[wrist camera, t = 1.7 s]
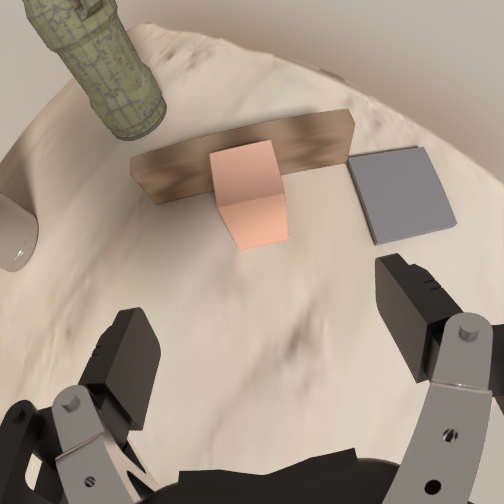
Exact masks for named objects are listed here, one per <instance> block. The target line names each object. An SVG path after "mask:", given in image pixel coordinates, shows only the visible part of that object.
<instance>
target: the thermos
mask: <svg viewBox="0 0 504 504" xmlns="http://www.w3.org/2000/svg"><path fill="white" fill-rule="evenodd" d="M22 1H23V2H24V6H25V11H26V16H27V19H28V20H29V22H30V23H31V24H32V26H33V27H34V29H35V30H36V31H37V33H38V35H39V36H40V37H41V39H42V40H43V41H44V43H45V44H46V46H47V47H48V48H49V49H50V50H51V51H54V52H56V53H57V54H58V55H59V56H60V58H61V59H62V61H63V62H64V63H65V65H66V66H67V67H68V69H69V70H70V72H71V73H72V74H73V76H74V77H75V79H76V80H77V81H78V83H79V84H80V85H81V87H82V88H83V90H84V91H85V92H86V94H87V95H88V96H89V100H90V104H91V107H92V109H93V110H94V111H95V113H96V114H97V115H98V117H99V118H100V119H101V120H102V122H103V123H104V124H105V125H106V127H107V128H108V129H111V131H112V133H113V134H114V135H115V136H116V137H117V138H118V139H120V140H123V141H132V140H135V139H139V138H142V137H143V136H145V135H147V134H149V133H150V132H152V131H153V130H154V129H155V128H156V127H158V125H159V124H160V123H161V122H162V120H163V119H164V116H165V114H166V108H167V105H166V103H165V101H164V99H163V97H162V96H161V91H160V88H159V86H158V84H157V82H156V80H155V78H154V76H153V74H152V72H151V70H150V68H149V67H147V66H146V65H145V64H143V63H142V62H141V60H140V58H139V56H138V54H137V52H136V50H135V48H134V46H133V45H132V43H131V41H130V39H129V37H128V35H127V33H126V31H125V29H124V27H123V25H122V23H121V21H120V19H119V17H118V15H117V4H116V2H115V0H22Z"/></svg>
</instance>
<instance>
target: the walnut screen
mask: <svg viewBox="0 0 504 504" xmlns="http://www.w3.org/2000/svg"><path fill="white" fill-rule="evenodd" d="M354 127H355V122H354V120H353V118H352V116H351V113H350V111H349V109H341V110H334V111H327V112H320V113H314V114H308V115H302V116H296V117H290V118H285V119H280V120H274V121H269V122H264V123H260V124H255V125H250V126H246V127H241V128H237V129H232V130H228V131H224V132H220V133H216V134H212V135H208V136H204V137H200V138H197V139H193V140H189V141H186V142H182V143H178V144H175V145H171V146H168V147H165V148H161V149H158V150H155V151H152V152H148V153H145V154H142V155H139V156H136V157H133V158H130V175H131V176H132V177H133V178H134V179H135V181H136V182H137V183H138V184H139V185H140V186H141V187H142V189H143V190H144V191H145V192H146V193H147V194H148V195H149V197H150V198H151V199H152V200H153V201H154V202H155V203H156V205H159V204H162V203H166V202H170V201H174V200H177V199H181V198H185V197H189V196H193V195H197V194H201V193H205V192H209V191H213V190H214V183H213V176H212V169H211V162H210V155H209V154H210V153H214V152H218V151H223V150H227V149H231V148H235V147H240V146H244V145H249V144H253V143H258V142H262V141H267V140H271V143H272V146H273V150H274V153H275V157H276V161H277V164H278V168H279V172H280V175H285V174H290V173H295V172H300V171H305V170H310V169H315V168H321V167H326V166H332V165H337V164H343V163H347V160H348V156H349V151H350V146H351V142H352V137H353V132H354Z"/></svg>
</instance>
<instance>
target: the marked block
mask: <svg viewBox="0 0 504 504" xmlns="http://www.w3.org/2000/svg"><path fill="white" fill-rule="evenodd" d="M209 155H210V162H211V169H212V176H213V183H214V190H215V196H216V203H217V208H218V210H219V212H220V214H221V216H222V218H223V220H224V222H225V224H226V225H227V227H228V229H229V231H230V233H231V235H232V237H233V239H234V240H235V242H236V244H237V246H238V248H239V250H245V249H249V248H254V247H259V246H263V245H268V244H273V243H277V242H282V241H287V240H289V239H288V225H287V211H286V198H285V191H284V187H283V183H282V179H281V176H280V172H279V168H278V164H277V161H276V157H275V153H274V150H273V146H272V143H271V140H267V141H262V142H258V143H253V144H249V145H244V146H240V147H235V148H231V149H227V150H223V151H218V152H214V153H210V154H209Z"/></svg>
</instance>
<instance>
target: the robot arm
mask: <svg viewBox="0 0 504 504" xmlns="http://www.w3.org/2000/svg"><path fill="white" fill-rule="evenodd" d="M37 235H38V225H37V221H36V218H35V216H34V215H33V214H32V213H30V212H29V211H27V210H26V209H24V208H22V207H21V206H19V205H18V204H16V203H15V202H14V201H12V200H11V199H9V198H8V197H6V196H5V195H3V194H2V193H0V268H2V269H5V270H7V271H10V272H14V271H17V270H19V269H20V268H22V267H23V266H24V265H25V264H26V262H27V261H28V260H29V258H30V256H31V255H32V253H33V250H34V248H35V245H36V241H37ZM375 284H376V303H377V307H378V311H379V313H380V315H381V317H382V319H383V321H384V322H385V324H386V326H387V328H388V330H389V332H390V333H391V335H392V337H393V339H394V341H395V343H396V344H397V346H398V348H399V350H400V352H401V354H402V356H403V358H404V360H405V361H406V363H407V365H408V367H409V369H410V371H411V373H412V375H413V377H414V379H415V381H416V383H420V382H423V381H425V380H429V382H430V386H429V389H428V392H427V395H426V399H425V402H424V405H423V408H422V411H421V414H420V417H419V419H418V422H417V425H416V428H415V430H414V433H413V436H412V438H411V441H410V443H409V446H408V448H407V451H406V453H405V456H404V458H403V460H402V463H401V465H399V464H397V463H394V462H390V461H386V460H381V459H374V458H357V456H356V452H355V448H351V449H348V450H344V451H339V452H335V453H331V454H326V455H322V456H317V457H312V458H309V459H306V460H304V461H301V462H299V463H297V464H294V465H291V466H289V467H286V468H284V469H281V470H278V471H276V472H273V473H270V474H267V475H256V474H247V473H240V472H232V471H226V470H200V471H179V479H178V482H176V483H173V484H170V485H167V486H165V487H163V488H161V487H160V486H159V484H158V483H157V482H156V481H155V479H154V478H153V477H152V475H151V473H150V472H149V470H148V469H147V467H146V466H145V464H144V462H143V461H142V459H141V457H140V456H139V454H138V452H137V451H136V449H135V447H134V445H133V444H132V442H131V440H130V439H129V438H128V437H127V436H128V433H129V430H143V425H144V421H145V417H146V413H147V408H148V404H149V400H150V396H151V392H152V388H153V384H154V380H155V376H156V372H157V368H158V364H159V361H160V356H161V349H160V344H159V341H158V339H157V337H156V335H155V333H154V331H153V329H152V327H151V325H150V323H149V321H148V319H147V317H146V315H145V313H144V311H143V310H142V309H141V308H139V307H137V308H131V309H126V310H121V311H119V312H118V314H117V316H116V318H115V320H114V322H113V324H112V326H110V327H109V328H108V329H107V330H106V331H105V332H104V333H103V334H102V335H101V336H100V338H99V340H98V342H97V344H96V348H95V349H94V351H93V353H92V357H90V359H89V361H88V363H87V365H86V367H85V370H84V372H83V374H82V376H81V378H80V380H79V383H78V385H73V386H70V387H68V388H66V389H64V390H63V391H61V392H60V393H59V394H58V395H57V397H56V398H55V400H54V402H53V405H52V406H51V407H48V408H44V409H41V410H37V409H36V407H35V406H34V405H33V404H32V403H31V402H30V401H28V400H21V401H19V402H17V403H15V404H14V405H12V406H11V407H10V409H9V410H8V411H7V413H6V415H5V417H4V419H3V421H2V423H1V426H0V504H474V503H472V502H469V501H468V499H469V496H470V493H471V490H472V487H473V483H474V480H475V477H476V474H477V470H478V466H479V462H480V459H481V454H482V450H483V446H484V442H485V437H486V432H487V427H488V421H489V416H490V410H491V403H492V397H495V399H496V401H497V403H498V405H499V407H500V409H501V411H502V412H503V414H504V324H501V325H491V324H490V323H489V322H488V320H486V319H485V318H484V317H482V316H480V315H478V314H475V313H468V312H465V313H464V312H463V311H462V310H461V308H460V307H459V306H458V305H457V304H456V303H455V301H454V300H453V299H452V298H451V297H450V296H449V294H448V293H447V292H446V291H445V290H444V289H443V288H441V285H440V284H439V283H438V282H437V281H435V279H434V278H433V276H432V275H431V274H430V273H429V272H428V271H427V270H426V269H424V268H422V267H420V266H418V265H416V264H412V265H408V264H407V263H406V262H405V260H404V259H403V258H402V257H401V256H400V255H399V254H398V253H395V254H391V255H387V256H382V257H378V258H376V260H375ZM32 453H33V454H34V455H35V456H36V457H37V458H38V459H40V460H41V461H42V464H41V468H40V471H39V474H38V478H37V481H36V485H35V488H34V491H33V490H32V489H30V488H29V487H28V485H27V483H26V481H25V473H26V470H27V467H28V464H29V461H30V458H31V455H32Z"/></svg>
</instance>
